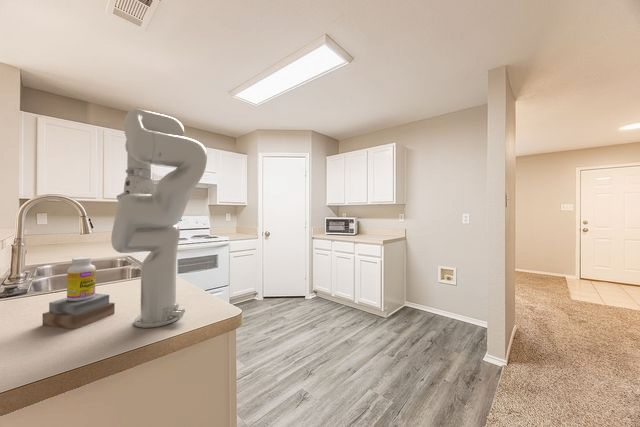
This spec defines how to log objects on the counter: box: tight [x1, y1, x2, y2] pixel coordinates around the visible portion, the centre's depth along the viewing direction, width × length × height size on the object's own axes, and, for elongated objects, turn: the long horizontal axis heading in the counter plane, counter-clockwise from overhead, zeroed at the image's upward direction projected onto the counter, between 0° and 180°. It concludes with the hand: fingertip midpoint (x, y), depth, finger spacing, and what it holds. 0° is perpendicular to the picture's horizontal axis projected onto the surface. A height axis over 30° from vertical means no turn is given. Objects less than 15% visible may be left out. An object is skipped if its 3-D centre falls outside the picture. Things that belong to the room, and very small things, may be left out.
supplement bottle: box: [66, 256, 97, 301], centre depth 83 cm, size 7×7×13 cm
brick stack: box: [42, 293, 116, 330], centre depth 83 cm, size 12×12×6 cm
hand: (138, 218), depth 101 cm, fingers open, 9 cm apart
